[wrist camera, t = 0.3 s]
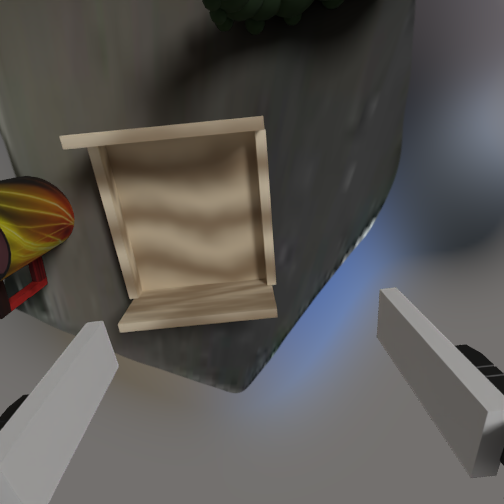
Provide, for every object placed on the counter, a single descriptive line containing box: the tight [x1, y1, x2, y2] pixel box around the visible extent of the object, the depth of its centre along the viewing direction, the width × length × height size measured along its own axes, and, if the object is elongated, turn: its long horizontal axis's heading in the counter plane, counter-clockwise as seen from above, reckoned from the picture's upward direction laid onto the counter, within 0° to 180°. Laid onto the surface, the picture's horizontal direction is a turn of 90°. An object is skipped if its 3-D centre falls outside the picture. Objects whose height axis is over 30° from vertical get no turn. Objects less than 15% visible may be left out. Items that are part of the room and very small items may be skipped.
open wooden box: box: [59, 116, 277, 333], centre depth 36 cm, size 22×20×9 cm
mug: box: [0, 176, 74, 319], centre depth 35 cm, size 10×14×12 cm
